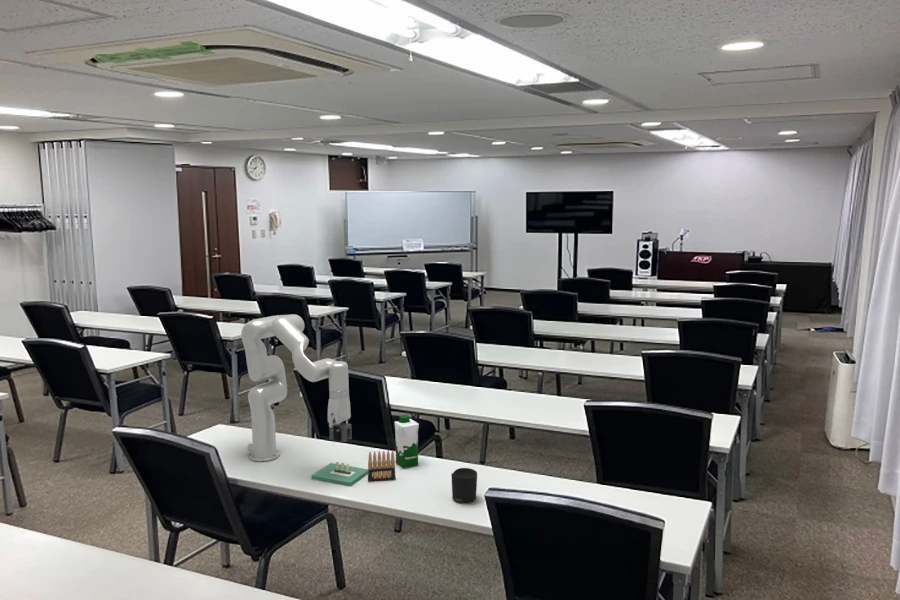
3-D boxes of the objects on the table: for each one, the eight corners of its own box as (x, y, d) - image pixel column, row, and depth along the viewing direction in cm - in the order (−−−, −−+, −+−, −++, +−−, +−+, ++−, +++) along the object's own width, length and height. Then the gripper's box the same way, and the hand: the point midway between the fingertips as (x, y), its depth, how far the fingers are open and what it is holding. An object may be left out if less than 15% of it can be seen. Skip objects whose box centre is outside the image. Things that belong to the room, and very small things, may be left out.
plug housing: (329, 439, 264) (329, 425, 263) (335, 436, 268) (335, 421, 267) (346, 442, 261) (345, 427, 260) (351, 438, 265) (351, 424, 264)
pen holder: (447, 496, 249) (447, 470, 247) (470, 491, 252) (470, 466, 251) (457, 506, 240) (457, 479, 239) (481, 501, 244) (481, 475, 242)
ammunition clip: (395, 478, 265) (394, 448, 263) (395, 480, 263) (395, 450, 262) (367, 480, 263) (367, 450, 261) (368, 482, 261) (367, 452, 259)
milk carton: (411, 458, 285) (411, 413, 282) (421, 466, 277) (421, 419, 274) (392, 462, 280) (392, 416, 278) (402, 470, 273) (401, 422, 270)
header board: (311, 478, 264) (310, 466, 263) (331, 466, 277) (330, 453, 276) (350, 486, 257) (350, 473, 256) (369, 473, 270) (368, 460, 269)
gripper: (342, 387, 271) (343, 430, 274) (318, 398, 256) (320, 444, 258) (358, 388, 268) (359, 433, 271) (335, 400, 253) (337, 446, 255)
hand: (340, 437), depth 265 cm, fingers closed on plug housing, 4 cm apart
